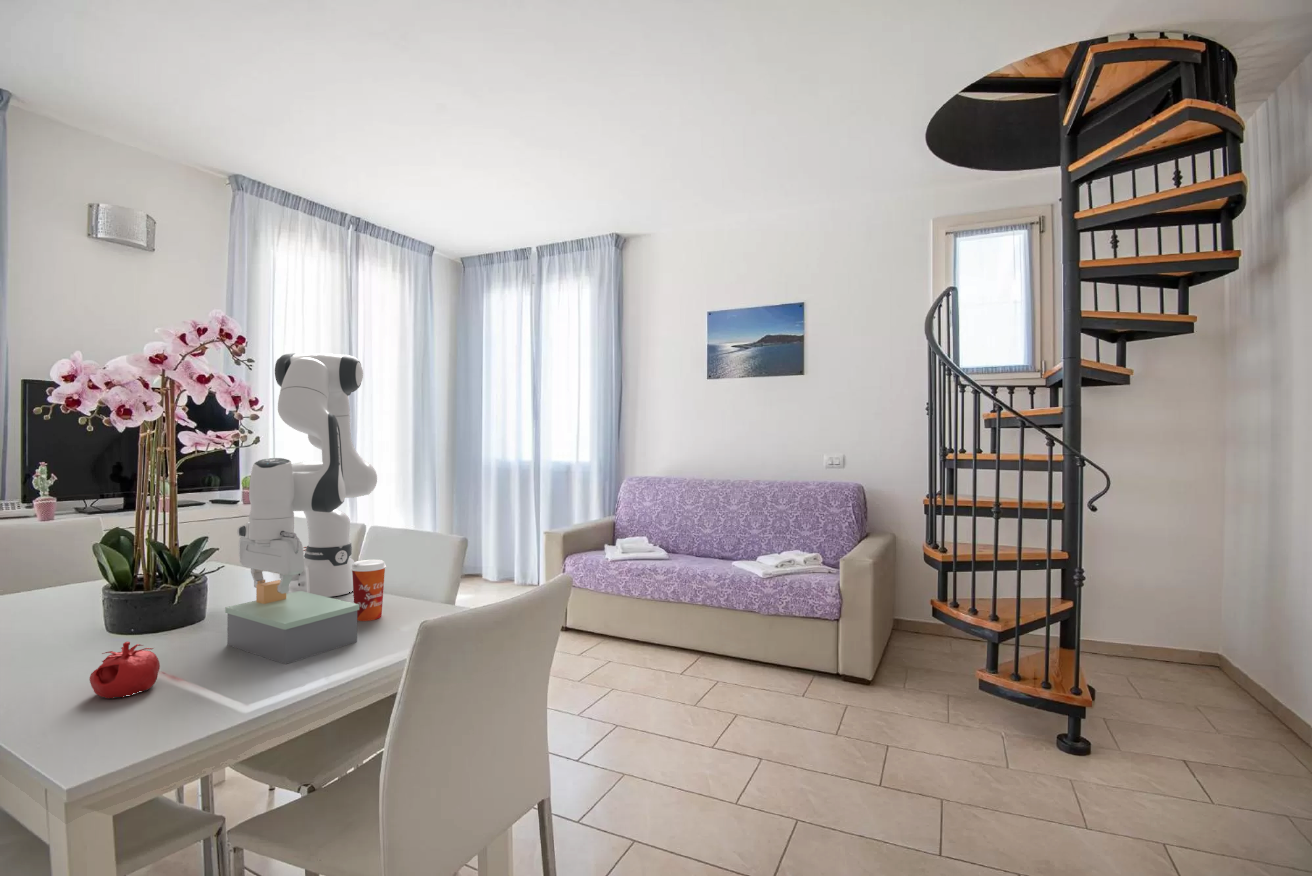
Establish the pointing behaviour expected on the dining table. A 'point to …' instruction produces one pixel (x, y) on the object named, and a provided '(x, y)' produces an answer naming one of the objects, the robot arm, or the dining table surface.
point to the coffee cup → (368, 588)
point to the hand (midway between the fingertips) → (271, 590)
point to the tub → (291, 637)
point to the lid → (289, 607)
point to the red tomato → (125, 672)
